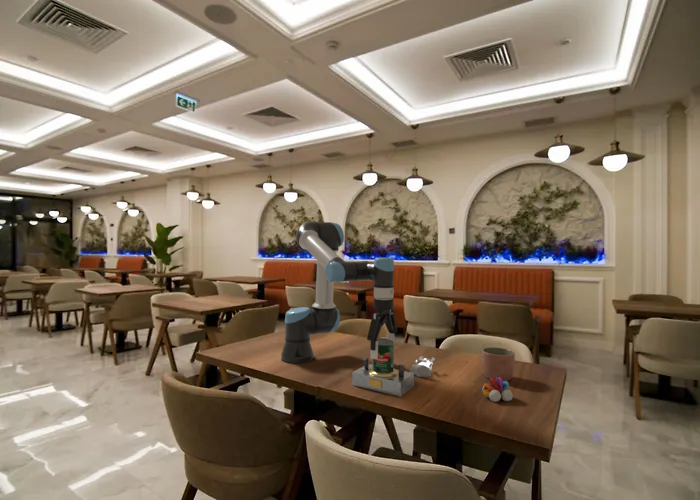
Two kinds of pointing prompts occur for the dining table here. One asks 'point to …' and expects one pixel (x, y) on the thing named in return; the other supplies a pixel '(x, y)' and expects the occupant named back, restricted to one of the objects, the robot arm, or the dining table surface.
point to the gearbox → (383, 379)
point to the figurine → (422, 367)
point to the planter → (498, 363)
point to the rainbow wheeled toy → (497, 390)
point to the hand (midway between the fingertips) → (382, 354)
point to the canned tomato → (384, 357)
